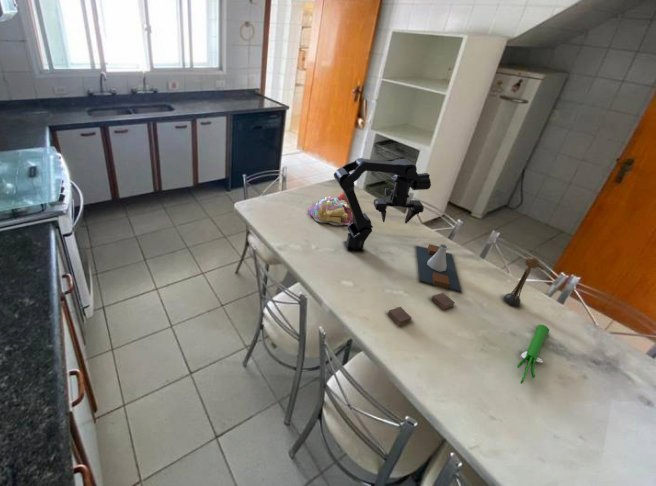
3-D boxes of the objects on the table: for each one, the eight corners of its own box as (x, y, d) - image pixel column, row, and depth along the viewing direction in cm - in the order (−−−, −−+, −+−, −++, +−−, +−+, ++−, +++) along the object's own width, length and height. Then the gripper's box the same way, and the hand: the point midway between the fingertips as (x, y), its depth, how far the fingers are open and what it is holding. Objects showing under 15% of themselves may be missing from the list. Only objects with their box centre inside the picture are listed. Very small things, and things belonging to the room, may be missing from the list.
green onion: (533, 328, 109) (509, 380, 91) (538, 321, 108) (514, 372, 89) (551, 338, 106) (530, 394, 87) (556, 331, 105) (535, 386, 86)
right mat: (419, 282, 126) (421, 277, 124) (416, 246, 147) (417, 241, 145) (460, 293, 121) (463, 287, 120) (450, 254, 142) (453, 249, 141)
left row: (387, 314, 111) (389, 310, 110) (441, 296, 120) (442, 292, 119) (398, 326, 107) (400, 321, 106) (453, 306, 115) (454, 302, 115)
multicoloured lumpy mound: (360, 228, 158) (364, 211, 154) (311, 225, 158) (314, 209, 154) (348, 203, 180) (351, 188, 176) (305, 200, 180) (307, 185, 176)
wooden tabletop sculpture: (525, 306, 117) (550, 262, 108) (518, 310, 115) (543, 266, 106) (507, 295, 122) (529, 251, 113) (500, 299, 120) (523, 255, 111)
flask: (449, 267, 133) (457, 247, 129) (440, 274, 129) (448, 254, 125) (432, 258, 138) (439, 238, 134) (423, 264, 134) (430, 244, 130)
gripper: (418, 182, 139) (411, 213, 146) (373, 180, 141) (368, 211, 148) (428, 194, 129) (419, 227, 136) (379, 192, 131) (373, 225, 138)
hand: (394, 222), depth 140 cm, fingers open, 9 cm apart
